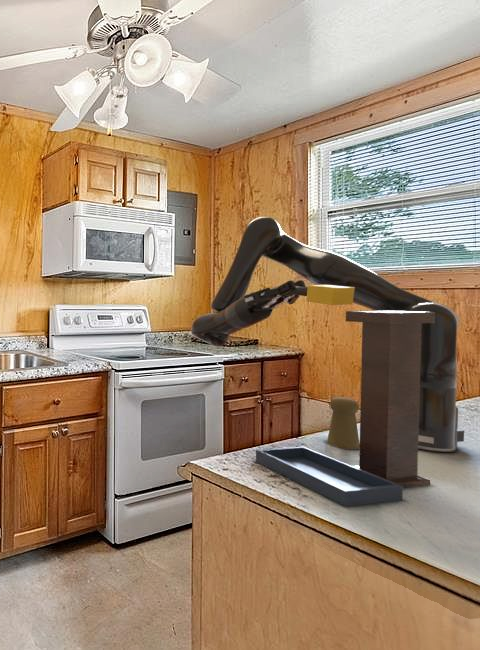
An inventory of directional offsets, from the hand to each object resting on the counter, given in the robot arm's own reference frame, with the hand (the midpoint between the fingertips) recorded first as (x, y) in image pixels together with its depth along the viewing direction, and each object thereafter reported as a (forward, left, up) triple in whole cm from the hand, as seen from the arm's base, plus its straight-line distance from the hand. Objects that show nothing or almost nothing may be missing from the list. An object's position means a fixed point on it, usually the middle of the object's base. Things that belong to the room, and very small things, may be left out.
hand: (298, 284), depth 97 cm
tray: (+9, +15, -38) cm, 42 cm away
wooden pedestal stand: (-3, +17, -38) cm, 41 cm away
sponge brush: (0, +3, -4) cm, 4 cm away
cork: (-13, 0, -38) cm, 40 cm away
